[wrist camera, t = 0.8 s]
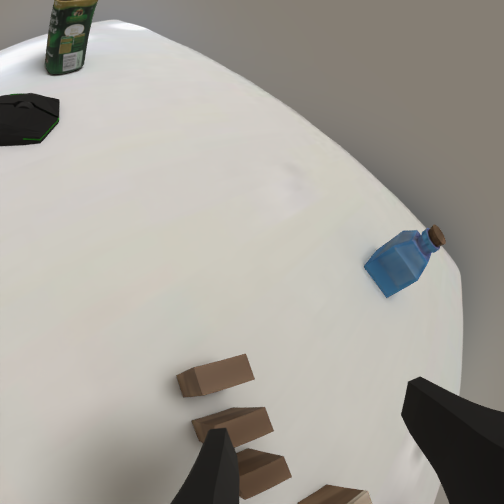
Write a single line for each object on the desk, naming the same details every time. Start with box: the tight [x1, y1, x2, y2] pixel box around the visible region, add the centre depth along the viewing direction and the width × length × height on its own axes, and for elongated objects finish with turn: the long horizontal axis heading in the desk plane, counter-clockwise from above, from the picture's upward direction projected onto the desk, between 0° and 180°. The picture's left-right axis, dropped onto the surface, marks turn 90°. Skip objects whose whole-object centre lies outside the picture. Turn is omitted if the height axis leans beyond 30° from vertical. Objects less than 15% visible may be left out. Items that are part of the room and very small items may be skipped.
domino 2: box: [192, 407, 274, 448], centre depth 19 cm, size 2×4×6 cm, turn 111°
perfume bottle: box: [364, 225, 445, 298], centre depth 37 cm, size 6×6×12 cm
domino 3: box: [236, 448, 292, 500], centre depth 17 cm, size 2×4×6 cm, turn 110°
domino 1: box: [176, 354, 255, 397], centre depth 20 cm, size 2×4×6 cm, turn 111°
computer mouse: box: [0, 93, 59, 146], centre depth 23 cm, size 11×16×4 cm
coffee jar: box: [45, 0, 98, 74], centre depth 27 cm, size 10×8×19 cm
